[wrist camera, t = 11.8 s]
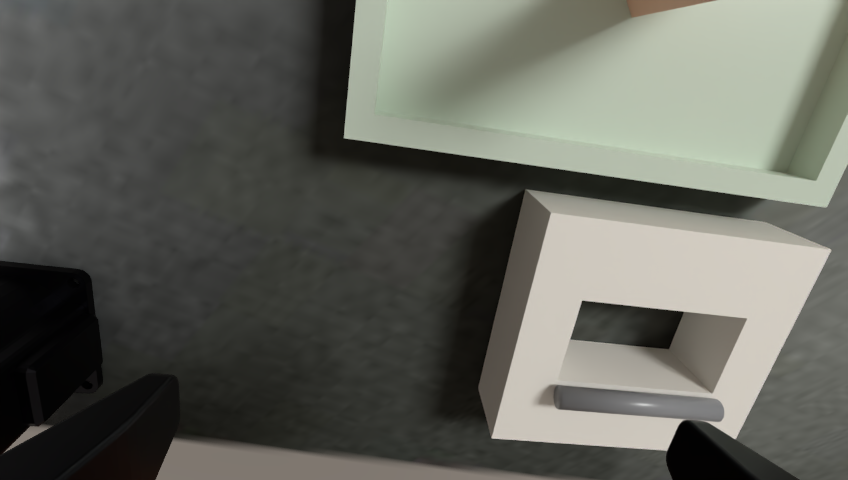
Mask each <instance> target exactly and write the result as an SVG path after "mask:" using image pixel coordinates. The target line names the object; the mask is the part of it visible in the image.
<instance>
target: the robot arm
mask: <svg viewBox="0 0 848 480" xmlns="http://www.w3.org/2000/svg"><path fill="white" fill-rule="evenodd" d="M73 278H75V279H77V280H78V281H79V283H80V284H77V283H76V282H75V281H74V279H73ZM102 362H103V359H102V350H101V341H100V333H99V324H98V319H97V317H96V316H95V308H94V299H93V290H92V282H91V278H90V276H89V275H88V274H87V273H86V272H85V271H83V270H80V269H72V268H63V267H53V266H43V265H34V264H24V263H14V262H5V261H0V480H155V479H156V477H157V475H158V472H159V470H160V468H161V465H162V463H163V461H164V458H165V456H166V454H167V451H168V449H169V447H170V444H171V442H172V440H173V437H174V435H175V433H176V430H177V428H178V424H179V420H180V401H179V383H178V379H177V377H175V376H174V375H168V374H156V373H152V374H148V375H146V376H144V377H142V378H140V379H138V380H136V381H134V382H133V383H131V384H129V385H127V386H125V387H123V388H122V389H120V390H118V391H116V392H114V393H113V394H111V395H109V396H107V397H105V398H103V399H102V400H100V401H98V402H96V403H94V404H92V405H91V406H89V407H87V408H85V409H83V410H81V411H80V412H78V413H76V414H74V415H72V416H71V417H69V418H67V419H65V420H63V421H61V422H60V423H58V424H56V425H54V426H52V427H50V428H49V429H47V430H45V431H43V432H41V433H39V434H38V435H36V436H34V437H32V438H30V439H29V440H27V441H25V442H23V443H21V444H19V445H18V446H16V447H14V448H12V449H10V450H8V451H7V452H5V451H6V450H7V449H8V448H9V447H10V446H11V445H12V443H14V442H15V441H16V439H18V438H19V437H20V436H21V434H23V433H24V432H25V431H26V430H27V429H28V428H29V427H30V426H40V425H41V424H42V423H44V422H45V421H46V420H47V419H48V418H49V417H50V416H51V415H52V414H53V413H54V412H55V411H56V410H57V409H58V408H59V407H60V406H61V405H62V404H63V403H64V402H65V401H66V400H67V399H68V398H69V397H70V396H71V395H72V394H73V393H74V392H76V393H93V392H96V390H97V389H98V388H99V387H100V386H101V385H102V384H103V376H102V368H101V364H102ZM88 381H89V382H91V383H92V384H91V383H89V382H88ZM4 452H5V453H4ZM666 463H667V467H668V470H669V472H670V475H671V477H672V480H799V479H798V478H796V477H794V476H793V475H791V474H790V473H788V472H786V471H785V470H783V469H782V468H780V467H778V466H777V465H775V464H774V463H772V462H770V461H769V460H767V459H766V458H764V457H762V456H761V455H759V454H758V453H756V452H754V451H753V450H751V449H750V448H748V447H747V446H745V445H743V444H742V443H740V442H739V441H737V440H735V439H734V438H732V437H731V436H729V435H727V434H726V433H724V432H723V431H721V430H719V429H718V428H716V427H715V426H713V425H711V424H710V423H708V422H705V421H698V420H683V421H682V422H681V423H680V424H679V425H678V427H677V430H676V432H675V434H674V436H673V439H672V441H671V443H670V445H669V448H668V450H667V453H666Z"/></svg>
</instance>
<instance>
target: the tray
mask: <svg viewBox="0 0 848 480" xmlns="http://www.w3.org/2000/svg"><path fill="white" fill-rule="evenodd" d="M344 138H346V139H353V140H360V141H367V142H374V143H381V144H388V145H395V146H402V147H409V148H416V149H422V150H429V151H436V152H443V153H450V154H457V155H464V156H471V157H478V158H485V159H492V160H499V161H506V162H513V163H520V164H527V165H534V166H541V167H548V168H555V169H562V170H569V171H576V172H582V173H589V174H596V175H603V176H610V177H617V178H624V179H631V180H638V181H645V182H652V183H659V184H666V185H673V186H680V187H687V188H694V189H701V190H708V191H715V192H722V193H729V194H735V195H742V196H749V197H756V198H763V199H770V200H777V201H784V202H791V203H798V204H805V205H812V206H819V207H826V208H827V206H828V203H829V201H830V199H831V197H832V195H833V193H834V191H835V189H836V187H837V185H838V183H839V181H840V179H841V177H842V175H843V173H844V171H845V168H846V166H847V164H848V0H716V1H711V2H706V3H701V4H696V5H691V6H687V7H682V8H677V9H672V10H667V11H662V12H657V13H652V14H647V15H642V16H637V17H633V18H632V17H631V14H630V10H629V7H628V4H627V1H626V0H356V7H355V18H354V29H353V40H352V52H351V63H350V74H349V85H348V96H347V107H346V118H345V130H344Z"/></svg>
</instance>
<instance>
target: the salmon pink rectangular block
mask: <svg viewBox="0 0 848 480" xmlns="http://www.w3.org/2000/svg"><path fill="white" fill-rule="evenodd" d="M626 1H627V4H628V7H629V10H630V14H631V17H632V18H633V17H637V16H642V15H647V14H652V13H657V12H662V11H667V10H672V9H677V8H682V7H687V6H691V5H696V4H701V3H706V2H711V1H716V0H626Z"/></svg>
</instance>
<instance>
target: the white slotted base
mask: <svg viewBox="0 0 848 480" xmlns="http://www.w3.org/2000/svg"><path fill="white" fill-rule="evenodd" d="M830 252H831V249H829V248H826V247H824V246H821V245H819V244H817V243H814V242H812V241H809V240H807V239H805V238H802V237H800V236H797V235H795V234H793V233H790V232H788V231H785V230H783V229H781V228H778V227H776V226H774V225H771V224H769V223H766V222H761V221H754V220H746V219H739V218H732V217H725V216H717V215H710V214H703V213H695V212H688V211H681V210H674V209H666V208H659V207H652V206H644V205H637V204H630V203H622V202H615V201H608V200H601V199H593V198H586V197H579V196H571V195H564V194H557V193H550V192H542V191H535V190H528V189H525V193H524V197H523V202H522V206H521V210H520V214H519V218H518V223H517V227H516V231H515V235H514V239H513V244H512V248H511V252H510V256H509V260H508V265H507V269H506V273H505V277H504V281H503V286H502V290H501V294H500V298H499V302H498V307H497V311H496V315H495V319H494V323H493V328H492V332H491V336H490V340H489V344H488V348H487V353H486V357H485V361H484V365H483V369H482V374H481V378H480V382H479V386H478V389H479V393H480V397H481V401H482V404H483V408H484V412H485V416H486V419H487V423H488V427H489V430H490V434H491V438H494V439H509V440H523V441H537V442H552V443H566V444H580V445H595V446H609V447H623V448H638V449H652V450H666V451H667V450H668V448H669V445H670V443H671V441H672V439H673V436H674V434H675V432H676V430H677V427H678V425H679V424H680V423H681V422H682V421H683V420H698V421H705V422H708V423H710V424H711V425H713V426H715V427H716V428H718V429H719V430H721V431H723V432H724V433H726V434H727V435H729V436H731V437H732V438H734V439H736V437H737V435H738V433H739V431H740V429H741V427H742V425H743V423H744V421H745V420H746V418H747V416H748V414H749V412H750V410H751V408H752V406H753V404H754V402H755V400H756V398H757V396H758V394H759V392H760V390H761V388H762V386H763V384H764V382H765V380H766V378H767V376H768V374H769V372H770V370H771V368H772V366H773V364H774V362H775V360H776V358H777V356H778V354H779V352H780V350H781V348H782V347H783V345H784V343H785V341H786V339H787V337H788V335H789V333H790V331H791V329H792V327H793V325H794V323H795V321H796V319H797V317H798V315H799V313H800V311H801V309H802V307H803V305H804V303H805V301H806V299H807V297H808V295H809V293H810V291H811V289H812V287H813V285H814V283H815V281H816V279H817V277H818V275H819V274H820V272H821V270H822V268H823V266H824V264H825V262H826V260H827V258H828V256H829V254H830ZM582 301H591V302H600V303H610V304H619V305H628V306H637V307H646V308H655V309H665V310H674V311H683V312H684V313H683V316H682V318H681V321H680V323H679V326H678V328H677V331H676V333H675V335H674V338H673V340H672V343H671V345H670V348H669V349H661V348H651V347H641V346H631V345H620V344H610V343H600V342H590V341H580V340H570V338H571V335H572V331H573V328H574V325H575V322H576V319H577V315H578V312H579V309H580V306H581V302H582Z"/></svg>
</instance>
